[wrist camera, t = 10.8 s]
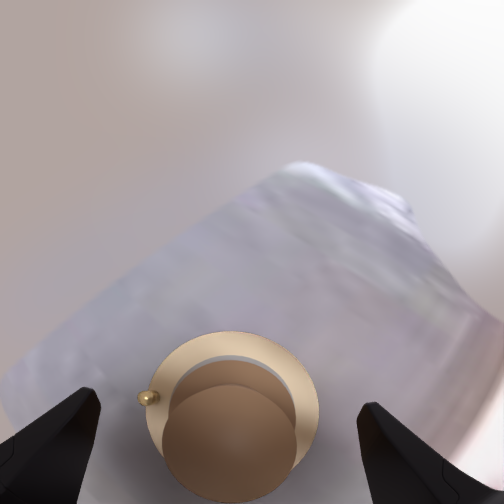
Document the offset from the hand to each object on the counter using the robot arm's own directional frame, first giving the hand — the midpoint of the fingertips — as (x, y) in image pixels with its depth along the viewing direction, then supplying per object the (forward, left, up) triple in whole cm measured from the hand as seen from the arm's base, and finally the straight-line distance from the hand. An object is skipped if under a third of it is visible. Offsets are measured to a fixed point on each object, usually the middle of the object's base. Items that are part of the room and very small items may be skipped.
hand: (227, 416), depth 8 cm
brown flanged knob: (-2, 0, -10) cm, 11 cm away
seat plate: (-1, 0, -12) cm, 12 cm away
